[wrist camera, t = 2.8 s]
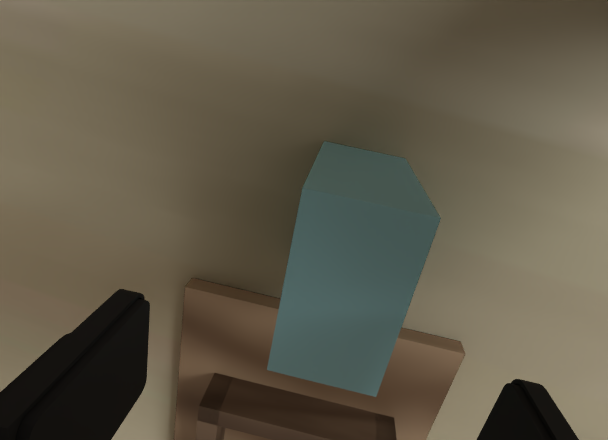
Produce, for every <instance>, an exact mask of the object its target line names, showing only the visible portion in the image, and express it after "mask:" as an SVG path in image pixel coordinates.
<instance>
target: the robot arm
mask: <svg viewBox="0 0 608 440" xmlns="http://www.w3.org/2000/svg"><path fill="white" fill-rule="evenodd" d="M149 311H150V303H149V301H146V300H144V295H143V294H141V293H137V292H132V291H128V290H124V289H119V290H118V291H116V292H115V293H114V294H113V295H112V296H111V297H110V298H109V299H108V300H107V301H105V302H104V303H103V304H102V305H101V306H100V307H99V308H98V309H97V310H96V311H95V312H93V313H92V314H91V315H90V316H89V317H88V318H87V319H86V320H85V321H84V322H82V323H81V324H80V325H79V326H78V327H77V328H76V329H75V330H74V331H73V332H72V333H69V334H66V335H65V336H63V337H62V338H60V339H59V340H58V341H57V342H56V343H55V344H54V345H52V346H51V347H50V348H49V349H48V350H47V351H46V352H45V353H44V354H42V355H41V356H40V357H39V358H38V359H37V360H36V361H35V362H33V363H32V364H31V365H30V366H29V367H28V368H27V369H26V370H25V371H23V372H22V373H21V374H20V375H19V376H18V377H17V378H16V379H15V380H13V381H12V382H11V383H10V384H9V385H8V386H7V387H6V388H5V389H3V390H2V391H1V392H0V440H111V439H112V437H113V436H114V434H115V433H116V431H117V430H118V428H119V427H120V425H121V424H122V422H123V421H124V419H125V417H126V416H127V414H128V413H129V411H130V410H131V408H132V407H133V405H134V404H135V402H136V401H137V399H138V398H139V396H140V395H141V393H142V391H143V389H144V386H145V383H146V378H147V356H148V334H149ZM477 440H579V439H578V438H577V436H576V435H575V433H574V432H573V430H572V429H571V427H570V425H569V424H568V422H567V421H566V419H565V418H564V416H563V415H562V413H561V412H560V410H559V409H558V407H557V406H556V404H555V403H554V401H553V400H552V398H551V396H550V395H549V393H548V392H547V390H546V389H545V388H544V387H543V386H542V385H540V384H537V383H533V382H529V381H524V380H520V379H515V380H513V381H512V382H511V384H510V383H507V384H506V385H505V386H504V387H503V389H502V391H501V393H500V395H499V397H498V399H497V401H496V403H495V405H494V407H493V409H492V411H491V413H490V415H489V417H488V419H487V421H486V422H485V424H484V426H483V428H482V430H481V432H480V434H479V436H478V438H477Z"/></svg>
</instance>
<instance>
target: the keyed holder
mask: <svg viewBox="0 0 608 440" xmlns="http://www.w3.org/2000/svg"><path fill="white" fill-rule="evenodd" d="M280 300H281V299H279V298H275V297H270V296H266V295H262V294H258V293H254V292H249V291H245V290H241V289H237V288H233V287H228V286H224V285H220V284H216V283H212V282H207V281H203V280H199V279H195V278H192V279H191V280H190V281H189V283H188V284H187V285H186V286H185V294H184V308H183V322H182V335H181V349H180V363H179V377H178V390H177V404H176V418H175V432H174V440H426V438H427V436H428V433H429V431H430V429H431V427H432V425H433V423H434V420H435V418H436V416H437V414H438V412H439V410H440V408H441V405H442V403H443V401H444V399H445V397H446V395H447V393H448V390H449V388H450V386H451V384H452V382H453V380H454V377H455V375H456V373H457V371H458V369H459V367H460V365H461V362H462V360H463V358H464V356H465V352H464V349H463V347H462V344H461V342H459V341H455V340H451V339H447V338H443V337H438V336H434V335H430V334H426V333H422V332H417V331H413V330H409V329H405V328H401V330H400V332H399V335H398V338H397V341H396V343H395V346H394V349H393V352H392V354H391V357H390V360H389V363H388V365H387V368H386V371H385V374H384V376H383V379H382V382H381V385H380V387H379V390H378V393H377V396H376V397H374V396H370V395H366V394H362V393H358V392H354V391H350V390H346V389H342V388H338V387H334V386H330V385H325V384H321V383H317V382H313V381H309V380H305V379H301V378H297V377H293V376H289V375H285V374H281V373H277V372H273V371H269V370H267V366H268V361H269V356H270V351H271V346H272V341H273V336H274V331H275V325H276V320H277V315H278V310H279V305H280Z"/></svg>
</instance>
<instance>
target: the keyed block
mask: <svg viewBox="0 0 608 440" xmlns="http://www.w3.org/2000/svg"><path fill="white" fill-rule="evenodd" d="M440 219H441V218H440V216H439V214H438V213H437V211H436V209H435V208H434V206H433V204H432V203H431V201H430V199H429V198H428V196H427V194H426V192H425V191H424V189H423V187H422V186H421V184H420V182H419V181H418V179H417V177H416V176H415V174H414V172H413V171H412V169H411V167H410V166H409V164H408V162H407V160H406V159H405V158H401V157H396V156H392V155H387V154H382V153H378V152H373V151H368V150H364V149H359V148H354V147H350V146H345V145H340V144H336V143H331V142H326V141H324V142H323V145H322V147H321V149H320V151H319V153H318V155H317V157H316V160H315V162H314V164H313V166H312V168H311V170H310V173H309V175H308V177H307V179H306V181H305V183H304V185H303V188H302V193H301V198H300V203H299V208H298V213H297V218H296V223H295V228H294V233H293V239H292V244H291V249H290V254H289V259H288V264H287V269H286V274H285V279H284V285H283V290H282V295H281V300H280V305H279V310H278V315H277V320H276V325H275V331H274V336H273V341H272V346H271V351H270V356H269V361H268V366H267V370H269V371H273V372H277V373H281V374H285V375H289V376H293V377H297V378H301V379H305V380H309V381H313V382H317V383H321V384H325V385H330V386H334V387H338V388H342V389H346V390H350V391H354V392H358V393H362V394H366V395H370V396H374V397H376V396H377V393H378V390H379V387H380V385H381V382H382V379H383V376H384V374H385V371H386V368H387V365H388V363H389V360H390V357H391V354H392V352H393V349H394V346H395V343H396V341H397V338H398V335H399V332H400V330H401V327H402V324H403V321H404V318H405V316H406V313H407V310H408V307H409V305H410V302H411V299H412V296H413V294H414V291H415V288H416V285H417V283H418V280H419V277H420V274H421V272H422V269H423V266H424V263H425V261H426V258H427V255H428V252H429V250H430V247H431V244H432V241H433V238H434V236H435V233H436V230H437V227H438V225H439V222H440Z"/></svg>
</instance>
